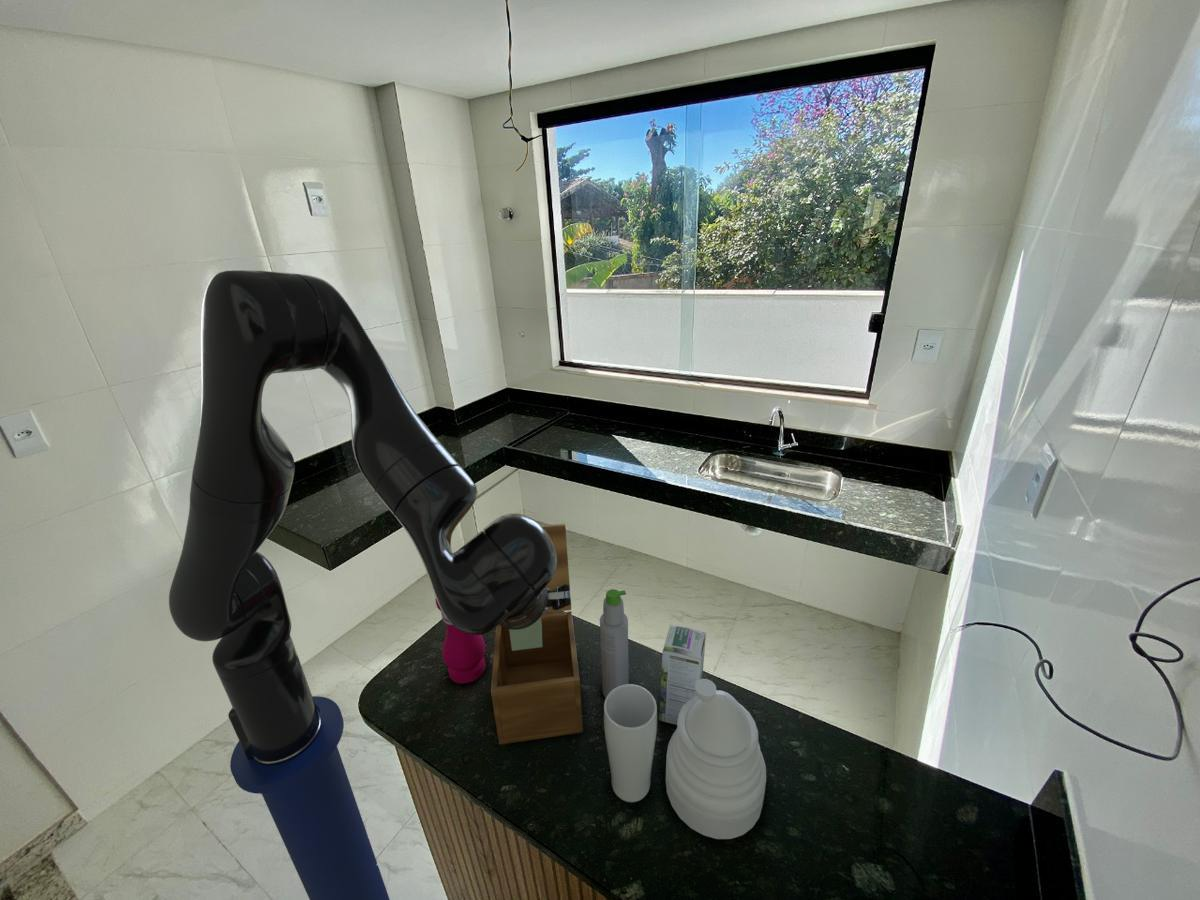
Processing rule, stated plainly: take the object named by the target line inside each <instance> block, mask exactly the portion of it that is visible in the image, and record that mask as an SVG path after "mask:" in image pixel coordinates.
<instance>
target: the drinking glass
mask: <svg viewBox="0 0 1200 900" xmlns="http://www.w3.org/2000/svg"><path fill="white" fill-rule="evenodd" d="M603 731H604V732H603V733H604V738H605V745H606V751H607V757H608V762H609V763H608V764H609V769H610V781H611V787H612V790H613V792H614V794H615V795H616V796H617V797H618V798H619V799H620V800H622V801H624V802H627V803H636V802H639V801H641V800H643V799H644V798H645V797H646V796H647V795H648V793H649V791H650V789H651V781H652V777H651V776H652V769H653V762H654V755H655V749H656V743H657V742H656V741H657V734H658V733H657V732H658V705H657V702H656V699H655V697H654V695H653V694H652V693H651V692H650V691H649V690H648V689H646V688H645V687H643V686H641V685H637V684H634V683H629V684H626V685H621V686H618V687H616V688H614V689H613V690H612V691H611V692H610V693H609V694H608V695H607V697H606V698H605V699H604V702H603Z"/></svg>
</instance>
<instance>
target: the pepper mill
mask: <svg viewBox="0 0 1200 900" xmlns="http://www.w3.org/2000/svg"><path fill="white" fill-rule="evenodd" d="M434 601H435V605H436V608H437V609H438V610H439V611H440V614H441V620H442V621H443V623H445V624H446V635H445V638H444V641H443V644H442V650H441V655H442V661H443V663H444V664H445V665H446V666H447V670H448V675H449V678H450V679H451V680H452V682H454V683H456V684H462V685H463V684H468V683H472V682H474V681H476V680H477V679H479V678H480V677H481V676H482V675H483V673H484V671H485V669H486V661H485V660H486V659H485V654H486V642H485V639H484V637H483V634H482V635H474V634H469V633H466V632H463V631H461V630H459V629H457V628H456V627H455V626H453V625H452V624H451V623H450V622H449V621H448V619H447V618H446V617H445V615H444V613H443V612H442V610H441V608H440V606H439V604H438V601H437V599H436V598H435V600H434Z"/></svg>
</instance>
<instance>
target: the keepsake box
mask: <svg viewBox="0 0 1200 900" xmlns="http://www.w3.org/2000/svg"><path fill="white" fill-rule="evenodd" d="M541 623H542V647H538V648H530V649H522V650H514V651H512V647H511V640H510V633H509V629H507V628H504V627H502V626H500V625H498V626H496V627H495V640H494V650H493V651H494V652H493V662H492V674H491V675H492V676H491V685H490V695H491V701H492V708H493V714H494V721H495V728H496V733H497V734H496V735H497V739H498V744H499V745H507V744H514V743H521V742H526V741H532V740H533V741H534V740H541V739H547V738H555V737H560V736H567V735H572V734H573V735H576V734H582V733H583V732H584V725H583V714H582V713H583V712H582V695H581V693H582V692H581V679H580V672H579V670H580V669H579V663H578V662H579V661H578V654H577V646H576V638H575V637H576V635H575V628H574V621H573V613H572V610H568V611H560V612H551V613H543V614H542V615H541Z"/></svg>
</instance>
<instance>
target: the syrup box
mask: <svg viewBox="0 0 1200 900" xmlns="http://www.w3.org/2000/svg"><path fill="white" fill-rule="evenodd" d="M706 638H707V632H705V631H702V630H699V629H695V628H691V627H686V626H682V625H676V624H675V625H674V624H670V625H669V627H668V631H667V633H666V639H665V641H664V644H663V648H662V652H661V671H660V689H659V690H660V691H659V710H658V711H659V712H658V720H659V721H660V722H663V723H668V724H672V725H676V726H677V721H678V715H679V712H680V710H681V708H682V706H683V705H684V704H685V703H686V702H687V701H688V700H690V699H692V698H694V697H695V696H697V695H696V692H695V683H696V682H697V681H698V680H700V679H703V673H704V662H705V653H706V652H705V651H706Z"/></svg>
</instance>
